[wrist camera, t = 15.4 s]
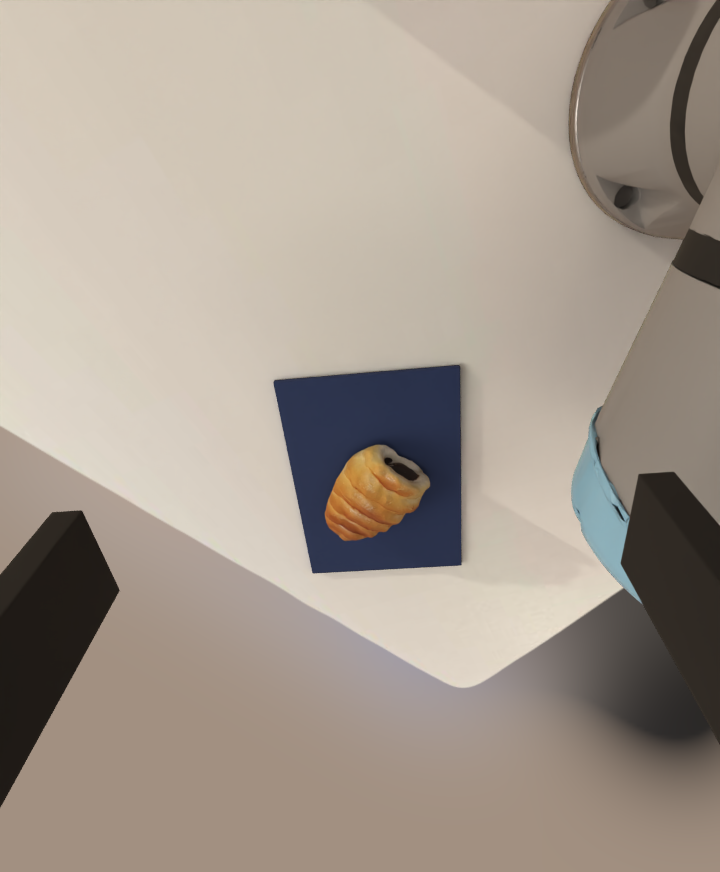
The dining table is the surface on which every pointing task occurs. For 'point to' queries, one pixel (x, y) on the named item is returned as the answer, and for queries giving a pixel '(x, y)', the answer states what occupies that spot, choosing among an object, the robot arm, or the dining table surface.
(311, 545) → the cloth mat
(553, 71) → the dining table surface
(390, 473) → the pastry
